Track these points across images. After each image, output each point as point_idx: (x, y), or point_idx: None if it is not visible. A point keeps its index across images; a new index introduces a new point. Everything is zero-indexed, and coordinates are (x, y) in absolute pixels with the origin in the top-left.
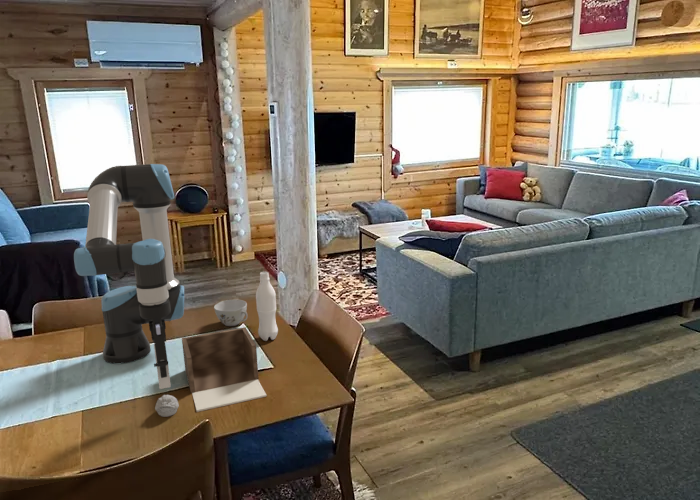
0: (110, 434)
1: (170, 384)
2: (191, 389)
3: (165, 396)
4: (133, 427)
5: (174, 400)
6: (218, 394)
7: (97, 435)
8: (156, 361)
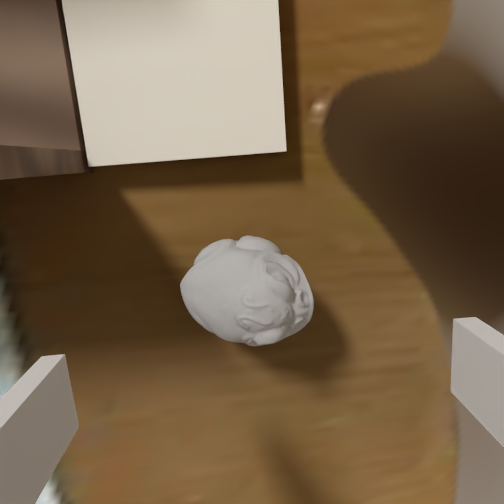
0: (286, 463)
1: (487, 325)
2: (77, 168)
3: (266, 312)
4: (268, 395)
5: (270, 261)
6: (153, 24)
7: (276, 501)
8: (56, 458)
